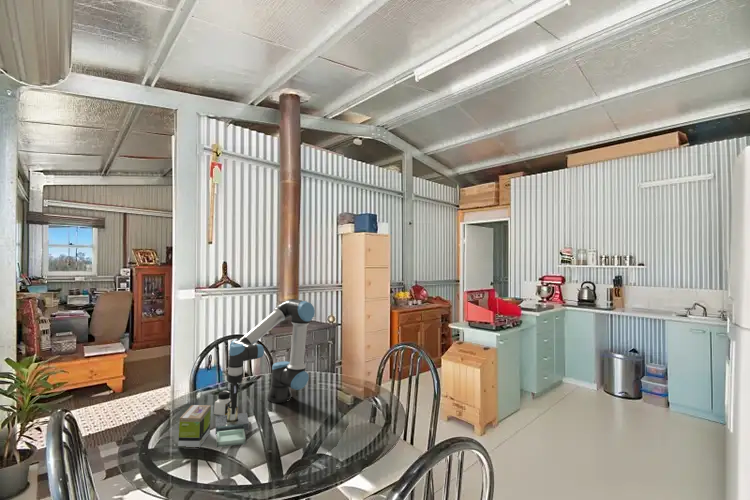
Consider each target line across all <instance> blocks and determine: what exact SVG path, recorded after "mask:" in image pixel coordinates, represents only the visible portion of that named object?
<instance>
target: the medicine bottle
mask: <svg viewBox="0 0 750 500" xmlns="http://www.w3.org/2000/svg"><path fill="white" fill-rule="evenodd" d="M230 398H231V391H228V390H222V391H219V393H218V399H217V400H216V401H214V410H213V414H214V415H216V416H220V415H228V408H229V407H230V403H231V402H230Z"/></svg>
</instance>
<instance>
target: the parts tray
mask: <svg viewBox="0 0 750 500" xmlns="http://www.w3.org/2000/svg"><path fill="white" fill-rule="evenodd" d="M239 445H246V431H244V428H243V429H235V430H226V431H218V432H217V435H216V448H223V447H230V446H239Z"/></svg>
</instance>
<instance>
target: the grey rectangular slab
mask: <svg viewBox="0 0 750 500" xmlns="http://www.w3.org/2000/svg"><path fill="white" fill-rule="evenodd" d="M227 416H228V414H227V415H216V416H215V435H216V434H217V432H218V431H226V430H235V429H243V428H244V431H245V432H249V427H250V422H249V421H250V420H249V417H248V416H249V415H248V412H240V413H238V415H237V421H236V422H227Z"/></svg>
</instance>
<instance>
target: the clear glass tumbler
mask: <svg viewBox="0 0 750 500" xmlns="http://www.w3.org/2000/svg"><path fill="white" fill-rule="evenodd" d="M230 410H231V408H230V407H229V408H228V414H227V415H228V416H227V422H236V421H237V415H238V414H239V413H238V411H239V406H237V407H236V418H235V420H230Z"/></svg>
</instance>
